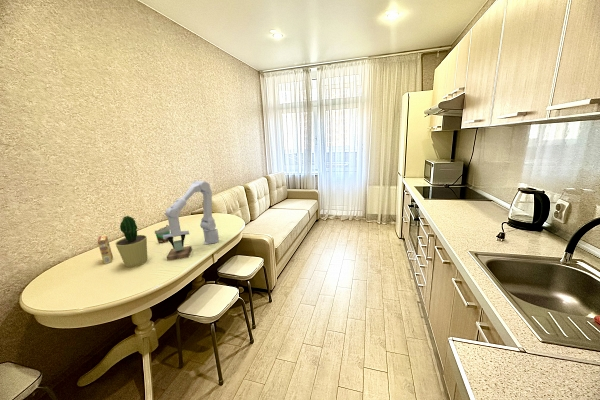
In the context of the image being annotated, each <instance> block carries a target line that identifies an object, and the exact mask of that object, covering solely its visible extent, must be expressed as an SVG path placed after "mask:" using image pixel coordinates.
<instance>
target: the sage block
mask: <svg viewBox="0 0 600 400" xmlns="http://www.w3.org/2000/svg"><path fill="white" fill-rule="evenodd" d="M173 242H174V249H175V251H179V250H183V247H182V240H181V239H180V240H173Z"/></svg>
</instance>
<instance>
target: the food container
mask: <svg viewBox="0 0 600 400" xmlns="http://www.w3.org/2000/svg"><path fill="white" fill-rule="evenodd" d="M170 233H171V232H170V227H169V224H166V226H164V227H161V228H159V229H158V230H157V229H156V230H154V234H155V237H156V240H157V243H158V244H162V243H166V242H169V241H168V238H166V239H163V235H167V234H170Z"/></svg>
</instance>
